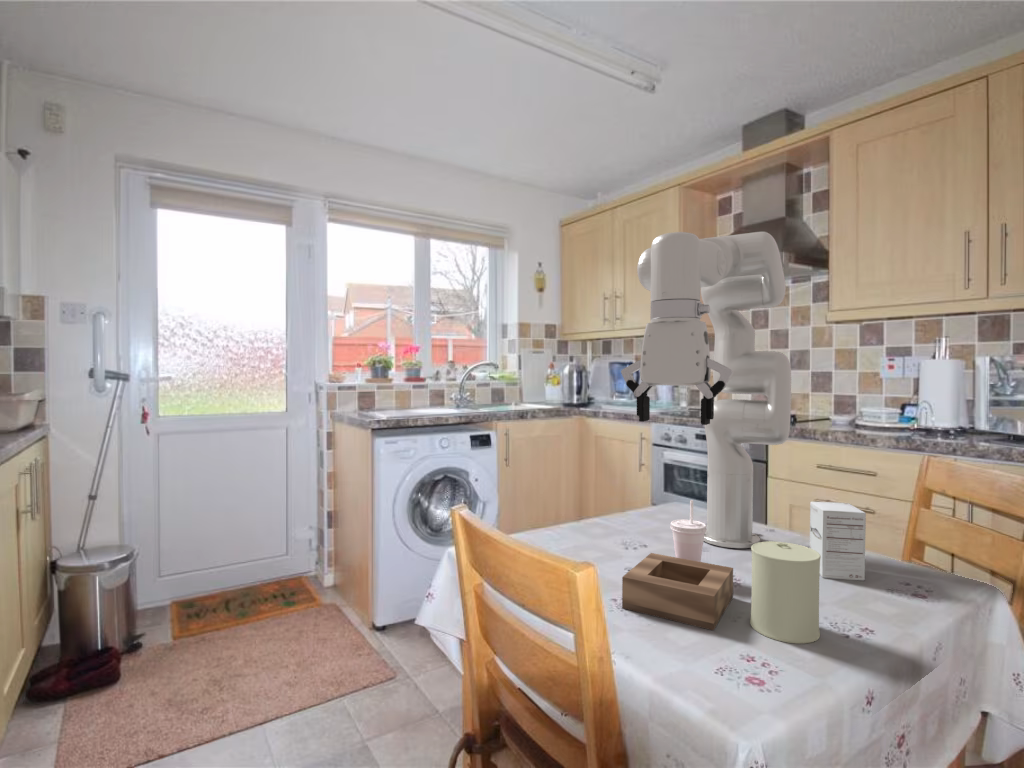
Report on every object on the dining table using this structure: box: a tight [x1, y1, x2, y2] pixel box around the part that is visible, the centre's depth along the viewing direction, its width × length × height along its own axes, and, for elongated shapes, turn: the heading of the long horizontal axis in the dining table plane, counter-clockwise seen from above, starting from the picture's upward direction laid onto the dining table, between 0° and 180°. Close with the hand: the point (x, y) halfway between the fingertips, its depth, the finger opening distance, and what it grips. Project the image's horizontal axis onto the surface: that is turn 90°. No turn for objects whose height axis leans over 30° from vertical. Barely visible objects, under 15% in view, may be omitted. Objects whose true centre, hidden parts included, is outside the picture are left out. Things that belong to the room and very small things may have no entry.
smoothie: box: [669, 499, 707, 562], centre depth 101 cm, size 6×6×14 cm
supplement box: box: [809, 501, 867, 582], centre depth 103 cm, size 7×7×13 cm
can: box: [749, 540, 821, 645], centre depth 81 cm, size 9×9×12 cm
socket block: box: [621, 552, 734, 631], centre depth 90 cm, size 14×14×5 cm
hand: (674, 422), depth 87 cm, fingers open, 9 cm apart
